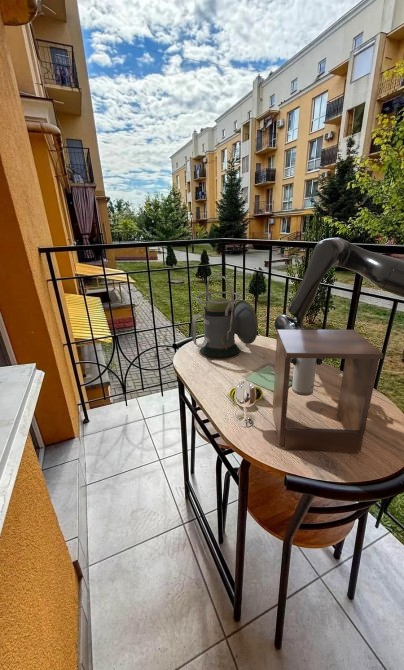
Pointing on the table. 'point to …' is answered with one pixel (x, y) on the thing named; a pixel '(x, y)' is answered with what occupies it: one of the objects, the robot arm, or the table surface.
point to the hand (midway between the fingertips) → (307, 362)
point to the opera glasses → (258, 393)
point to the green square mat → (265, 378)
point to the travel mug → (304, 375)
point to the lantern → (225, 324)
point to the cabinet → (352, 394)
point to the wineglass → (245, 400)
